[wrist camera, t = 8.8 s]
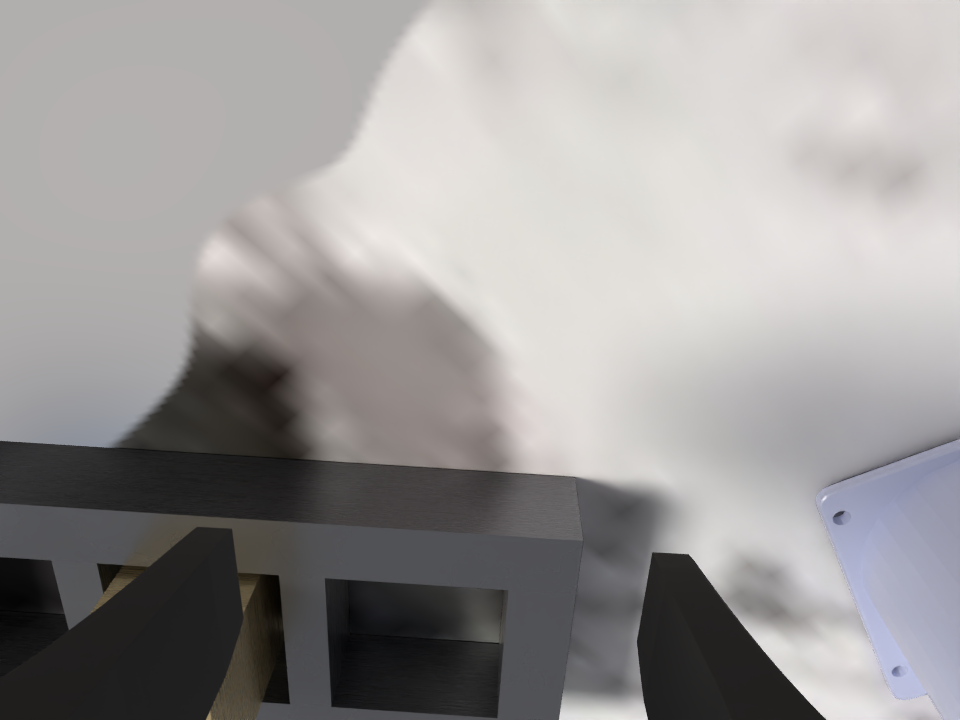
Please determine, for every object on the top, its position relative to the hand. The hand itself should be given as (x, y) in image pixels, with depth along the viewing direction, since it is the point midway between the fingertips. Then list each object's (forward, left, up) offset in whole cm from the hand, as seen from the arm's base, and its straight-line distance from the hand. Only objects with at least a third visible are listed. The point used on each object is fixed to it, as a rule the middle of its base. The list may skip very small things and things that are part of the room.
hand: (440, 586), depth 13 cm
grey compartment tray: (-3, +11, -9) cm, 15 cm away
